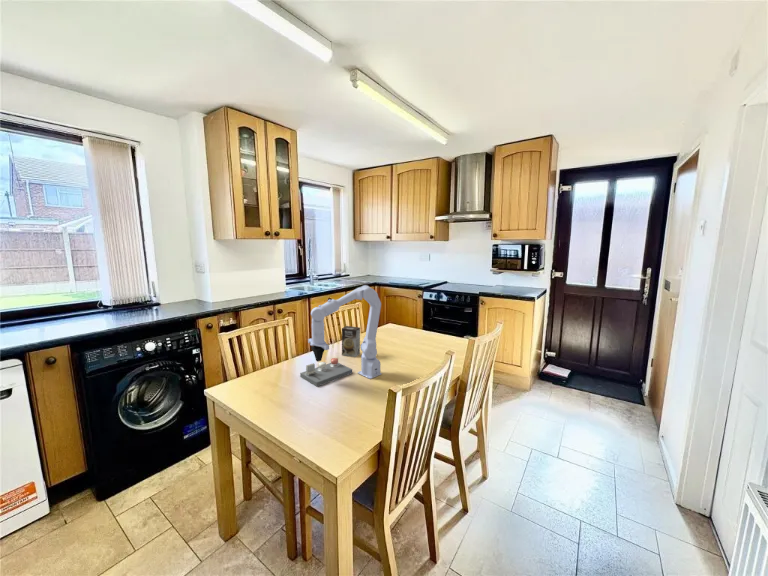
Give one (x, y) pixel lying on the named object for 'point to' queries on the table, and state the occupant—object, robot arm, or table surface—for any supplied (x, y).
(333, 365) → the control panel
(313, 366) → the grey square block
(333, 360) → the red button
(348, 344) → the coffee box
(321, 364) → the white button
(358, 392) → the table surface
